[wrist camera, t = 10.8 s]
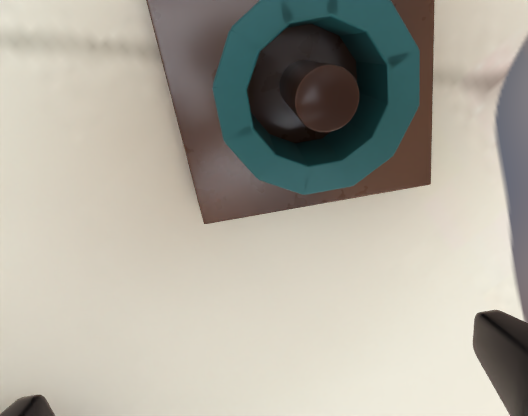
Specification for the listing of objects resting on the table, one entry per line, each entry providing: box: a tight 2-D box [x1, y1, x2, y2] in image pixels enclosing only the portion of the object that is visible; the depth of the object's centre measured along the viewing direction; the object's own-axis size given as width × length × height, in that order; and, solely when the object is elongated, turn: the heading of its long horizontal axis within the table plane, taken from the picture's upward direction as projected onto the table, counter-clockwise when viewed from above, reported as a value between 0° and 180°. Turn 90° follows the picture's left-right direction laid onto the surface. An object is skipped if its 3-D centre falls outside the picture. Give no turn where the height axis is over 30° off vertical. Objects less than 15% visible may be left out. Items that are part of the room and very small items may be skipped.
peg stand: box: [146, 0, 434, 224], centre depth 14 cm, size 11×11×6 cm
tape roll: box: [212, 0, 420, 195], centre depth 14 cm, size 7×7×4 cm
